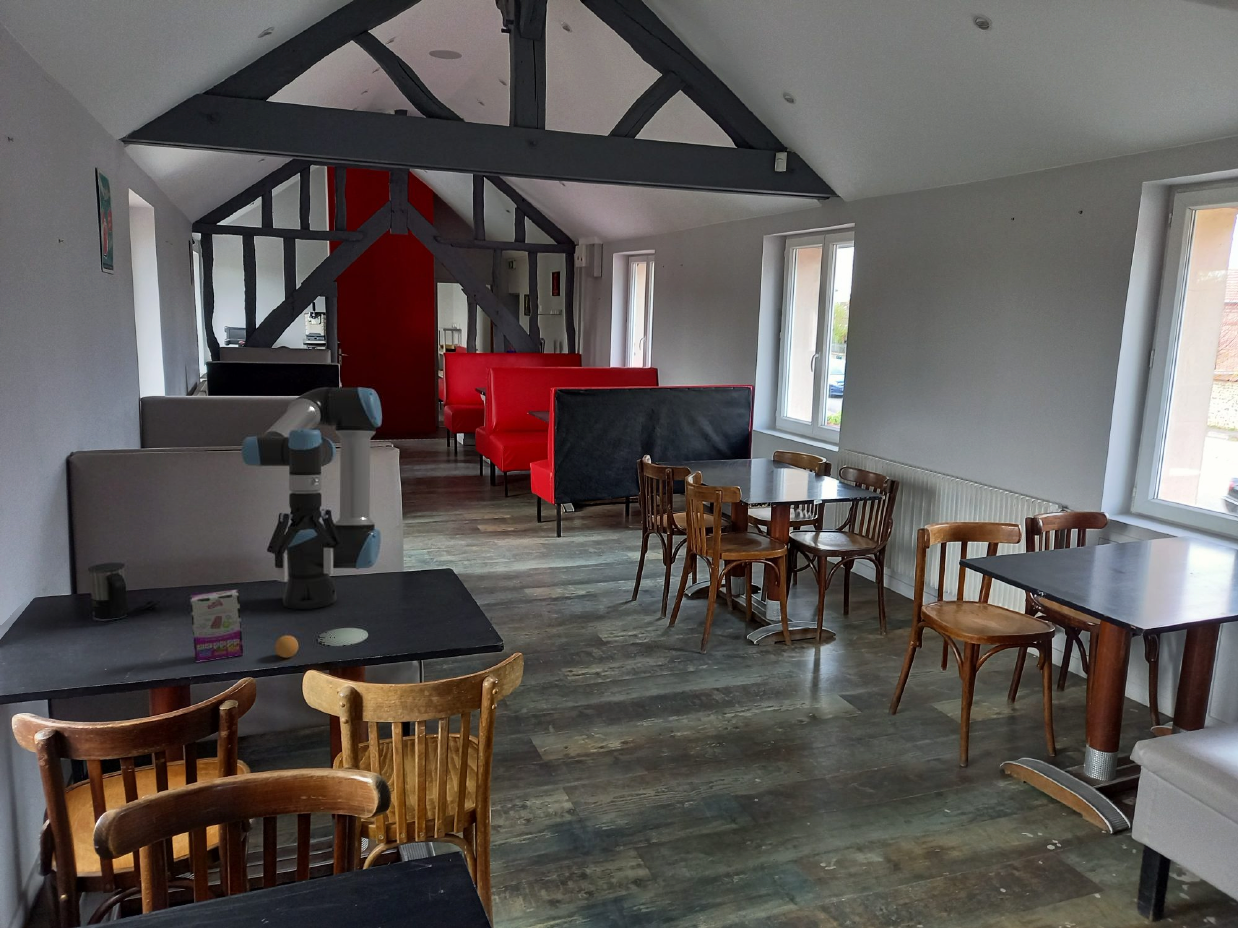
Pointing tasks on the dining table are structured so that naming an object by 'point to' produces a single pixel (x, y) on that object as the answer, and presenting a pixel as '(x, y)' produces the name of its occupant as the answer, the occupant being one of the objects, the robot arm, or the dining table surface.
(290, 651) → the ball
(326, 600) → the robot arm
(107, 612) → the milk frother
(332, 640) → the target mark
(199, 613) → the candy bar box
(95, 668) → the dining table surface
